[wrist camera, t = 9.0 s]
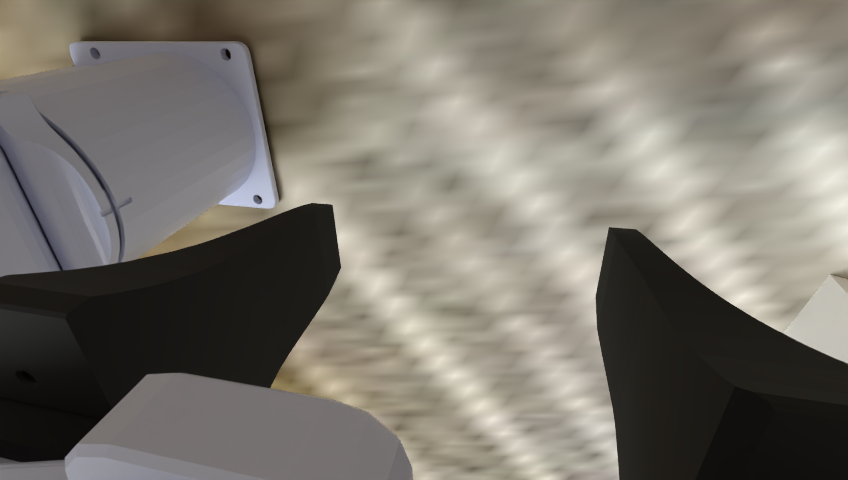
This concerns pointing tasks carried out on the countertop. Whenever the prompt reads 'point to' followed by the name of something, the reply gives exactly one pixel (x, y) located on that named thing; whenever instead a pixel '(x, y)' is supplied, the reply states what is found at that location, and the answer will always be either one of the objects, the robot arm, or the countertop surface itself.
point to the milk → (825, 320)
